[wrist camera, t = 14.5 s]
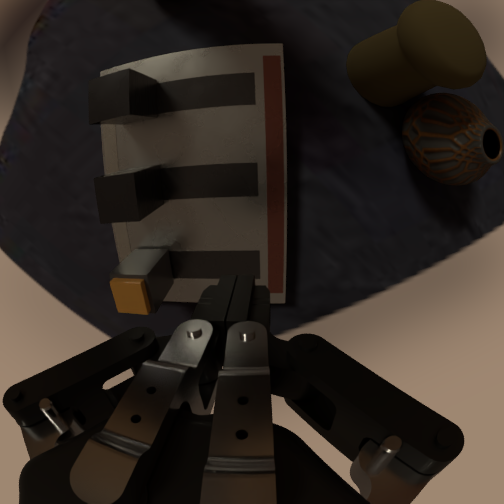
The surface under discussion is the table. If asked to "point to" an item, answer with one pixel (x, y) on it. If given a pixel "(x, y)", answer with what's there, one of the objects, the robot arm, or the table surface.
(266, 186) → the breaker panel
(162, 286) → the breaker handle
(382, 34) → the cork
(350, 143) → the table surface
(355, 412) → the robot arm
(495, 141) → the vase
